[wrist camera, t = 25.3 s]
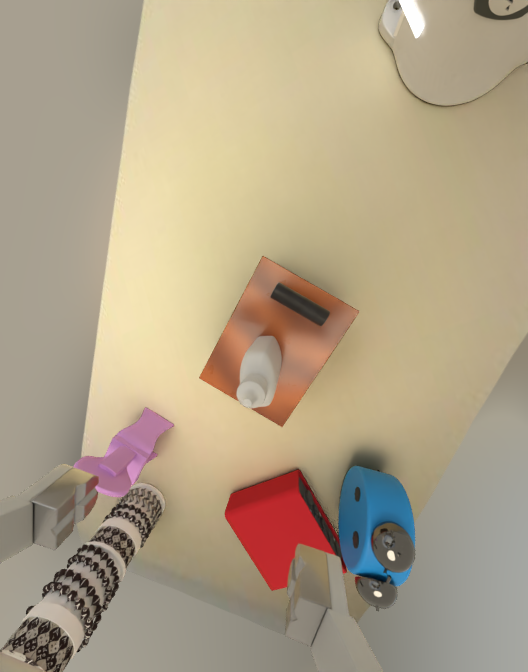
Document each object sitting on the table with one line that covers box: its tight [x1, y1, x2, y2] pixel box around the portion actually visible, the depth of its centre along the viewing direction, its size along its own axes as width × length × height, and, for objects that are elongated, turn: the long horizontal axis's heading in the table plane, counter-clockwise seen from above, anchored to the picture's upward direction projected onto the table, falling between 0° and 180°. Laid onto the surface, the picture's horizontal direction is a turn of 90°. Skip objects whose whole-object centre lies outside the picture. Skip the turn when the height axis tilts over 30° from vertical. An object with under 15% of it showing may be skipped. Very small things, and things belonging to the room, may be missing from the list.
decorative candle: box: [0, 483, 165, 672], centre depth 39 cm, size 9×9×25 cm
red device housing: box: [225, 470, 347, 591], centre depth 44 cm, size 18×14×5 cm
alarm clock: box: [339, 466, 415, 611], centre depth 35 cm, size 13×6×15 cm, turn 169°
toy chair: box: [74, 407, 174, 497], centre depth 40 cm, size 8×9×15 cm
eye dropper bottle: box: [236, 336, 282, 408], centre depth 24 cm, size 4×6×12 cm
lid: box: [199, 256, 359, 427], centre depth 28 cm, size 17×13×5 cm
